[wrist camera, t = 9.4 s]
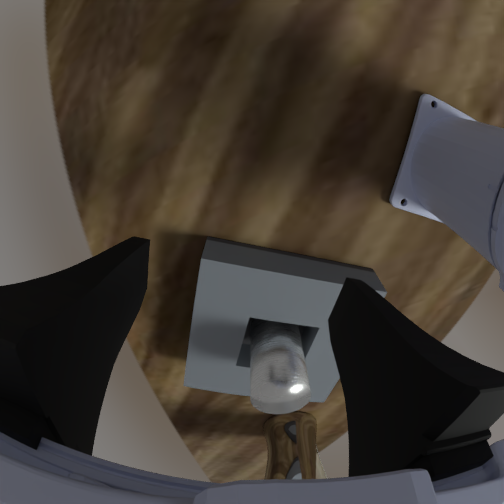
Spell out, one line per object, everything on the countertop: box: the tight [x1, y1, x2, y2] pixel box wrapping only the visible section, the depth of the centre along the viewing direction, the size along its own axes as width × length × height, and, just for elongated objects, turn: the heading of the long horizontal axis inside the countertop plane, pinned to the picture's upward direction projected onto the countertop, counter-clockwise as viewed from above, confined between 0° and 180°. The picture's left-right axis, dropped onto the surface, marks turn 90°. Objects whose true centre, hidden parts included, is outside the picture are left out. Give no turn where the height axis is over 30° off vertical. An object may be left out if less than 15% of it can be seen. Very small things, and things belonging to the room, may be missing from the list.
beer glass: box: [263, 412, 327, 480], centre depth 25 cm, size 7×7×15 cm
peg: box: [250, 318, 311, 414], centre depth 20 cm, size 4×4×7 cm
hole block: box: [184, 236, 387, 402], centre depth 23 cm, size 12×12×3 cm
